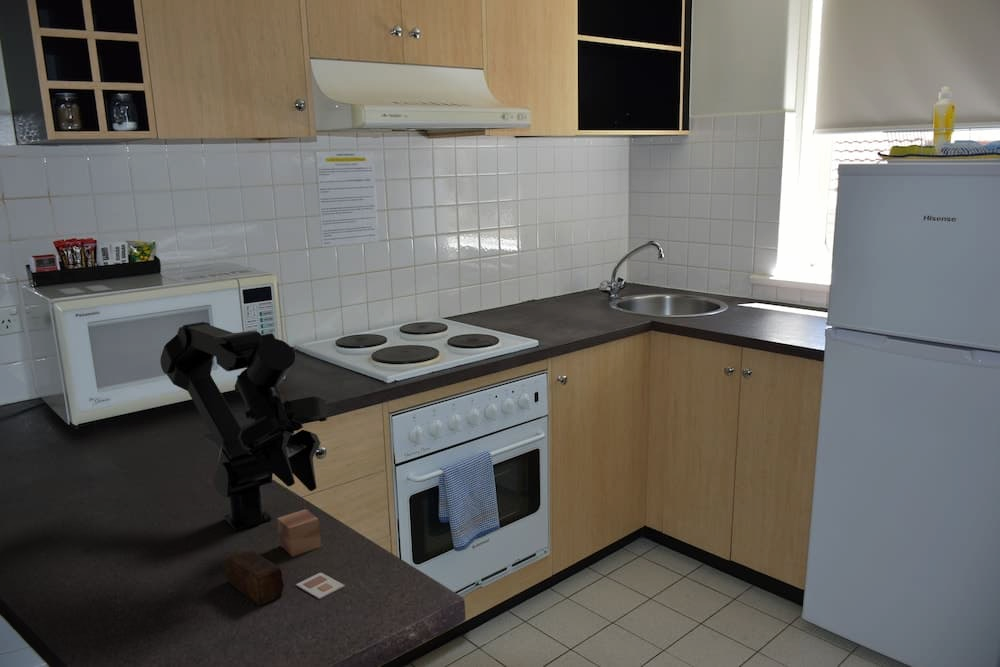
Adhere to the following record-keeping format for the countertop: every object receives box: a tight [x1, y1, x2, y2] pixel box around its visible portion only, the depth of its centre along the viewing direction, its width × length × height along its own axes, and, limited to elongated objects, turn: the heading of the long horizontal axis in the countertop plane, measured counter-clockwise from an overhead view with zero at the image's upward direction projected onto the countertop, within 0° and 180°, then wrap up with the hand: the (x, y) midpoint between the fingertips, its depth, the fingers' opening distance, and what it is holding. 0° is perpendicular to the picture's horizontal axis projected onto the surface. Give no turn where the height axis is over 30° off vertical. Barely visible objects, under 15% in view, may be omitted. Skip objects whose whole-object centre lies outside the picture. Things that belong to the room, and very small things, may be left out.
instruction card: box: [295, 572, 346, 600], centre depth 113 cm, size 6×4×1 cm
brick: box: [223, 550, 285, 607], centre depth 113 cm, size 11×4×5 cm, turn 46°
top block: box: [276, 508, 322, 557], centre depth 125 cm, size 5×5×5 cm
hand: (303, 487), depth 119 cm, fingers open, 9 cm apart
